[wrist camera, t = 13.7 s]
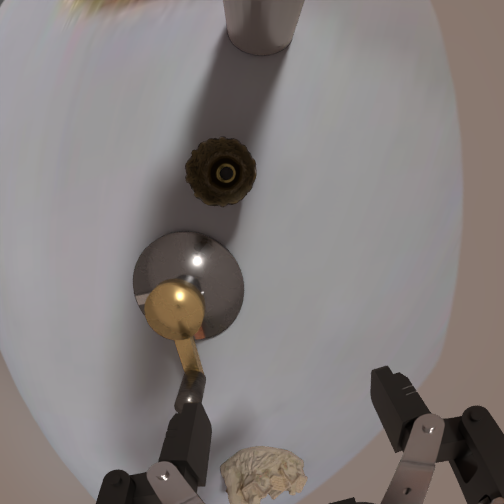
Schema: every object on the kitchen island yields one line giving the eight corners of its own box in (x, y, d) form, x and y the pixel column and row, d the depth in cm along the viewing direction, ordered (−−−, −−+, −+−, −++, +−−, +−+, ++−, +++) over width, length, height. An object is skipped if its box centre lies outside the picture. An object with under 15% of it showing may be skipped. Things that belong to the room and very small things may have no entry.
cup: (265, 185, 38) (268, 186, 30) (215, 211, 39) (206, 219, 31) (238, 135, 36) (235, 124, 28) (188, 162, 37) (173, 158, 29)
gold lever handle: (144, 282, 34) (119, 307, 27) (198, 274, 34) (185, 300, 26) (175, 381, 38) (163, 417, 30) (224, 377, 37) (219, 415, 30)
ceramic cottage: (209, 467, 51) (209, 521, 37) (260, 435, 49) (269, 496, 35) (261, 485, 55) (268, 533, 40) (311, 456, 53) (327, 507, 38)
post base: (122, 245, 39) (103, 256, 34) (229, 219, 39) (225, 226, 33) (155, 342, 43) (144, 363, 37) (254, 326, 42) (255, 348, 37)
